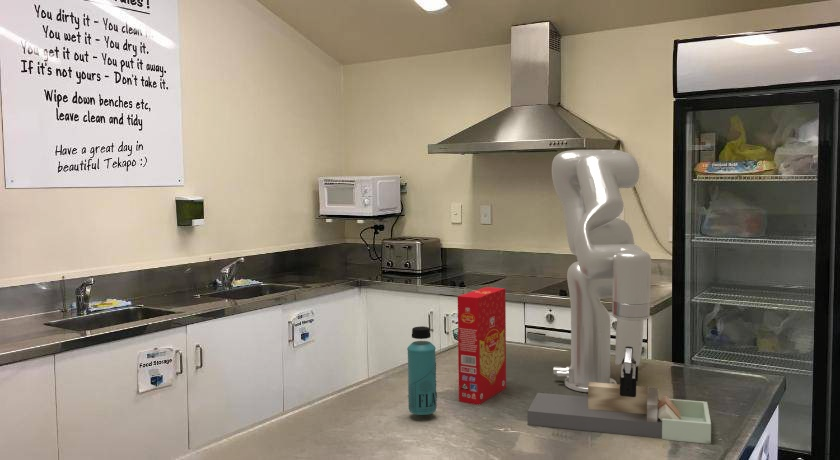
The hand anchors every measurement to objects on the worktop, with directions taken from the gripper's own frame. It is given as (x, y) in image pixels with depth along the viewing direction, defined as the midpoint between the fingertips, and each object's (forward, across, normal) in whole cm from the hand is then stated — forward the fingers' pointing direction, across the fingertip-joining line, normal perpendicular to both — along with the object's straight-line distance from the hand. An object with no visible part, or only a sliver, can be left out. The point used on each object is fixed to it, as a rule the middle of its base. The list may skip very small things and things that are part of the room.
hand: (628, 388), depth 150 cm
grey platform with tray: (+7, +1, -2) cm, 8 cm away
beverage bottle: (+8, +9, -43) cm, 45 cm away
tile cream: (+5, +4, +8) cm, 10 cm away
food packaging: (+9, -10, -34) cm, 37 cm away
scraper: (+4, +1, -1) cm, 5 cm away
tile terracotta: (+5, -2, +8) cm, 9 cm away
